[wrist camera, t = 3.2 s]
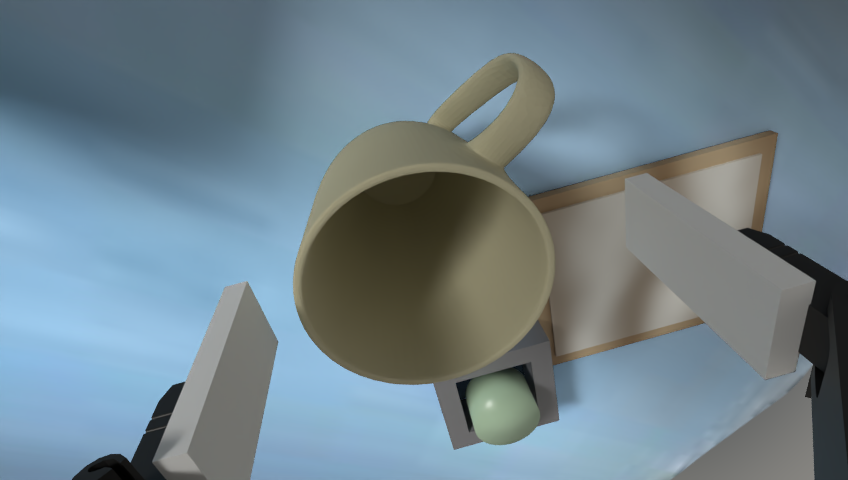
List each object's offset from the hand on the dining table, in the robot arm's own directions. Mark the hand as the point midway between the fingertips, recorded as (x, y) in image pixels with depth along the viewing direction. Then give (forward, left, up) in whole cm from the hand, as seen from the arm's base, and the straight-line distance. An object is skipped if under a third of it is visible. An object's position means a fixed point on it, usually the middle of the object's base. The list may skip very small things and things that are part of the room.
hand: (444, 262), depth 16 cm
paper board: (+14, -12, -12) cm, 21 cm away
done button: (+2, -18, -9) cm, 20 cm away
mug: (0, 0, -12) cm, 12 cm away
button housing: (+2, -18, -12) cm, 21 cm away
